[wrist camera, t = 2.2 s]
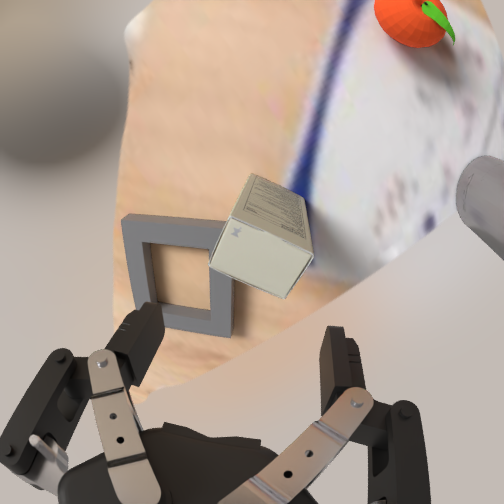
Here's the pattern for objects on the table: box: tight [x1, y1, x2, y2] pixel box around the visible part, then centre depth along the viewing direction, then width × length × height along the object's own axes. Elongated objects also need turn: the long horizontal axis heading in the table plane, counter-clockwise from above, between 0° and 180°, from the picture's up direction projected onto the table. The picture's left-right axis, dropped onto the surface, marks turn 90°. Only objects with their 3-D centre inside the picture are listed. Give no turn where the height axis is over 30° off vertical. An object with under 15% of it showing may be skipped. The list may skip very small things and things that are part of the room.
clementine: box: [374, 0, 455, 48], centre depth 16 cm, size 8×7×7 cm
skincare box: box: [208, 173, 314, 299], centre depth 25 cm, size 6×4×12 cm
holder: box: [121, 214, 235, 338], centre depth 35 cm, size 13×15×2 cm
